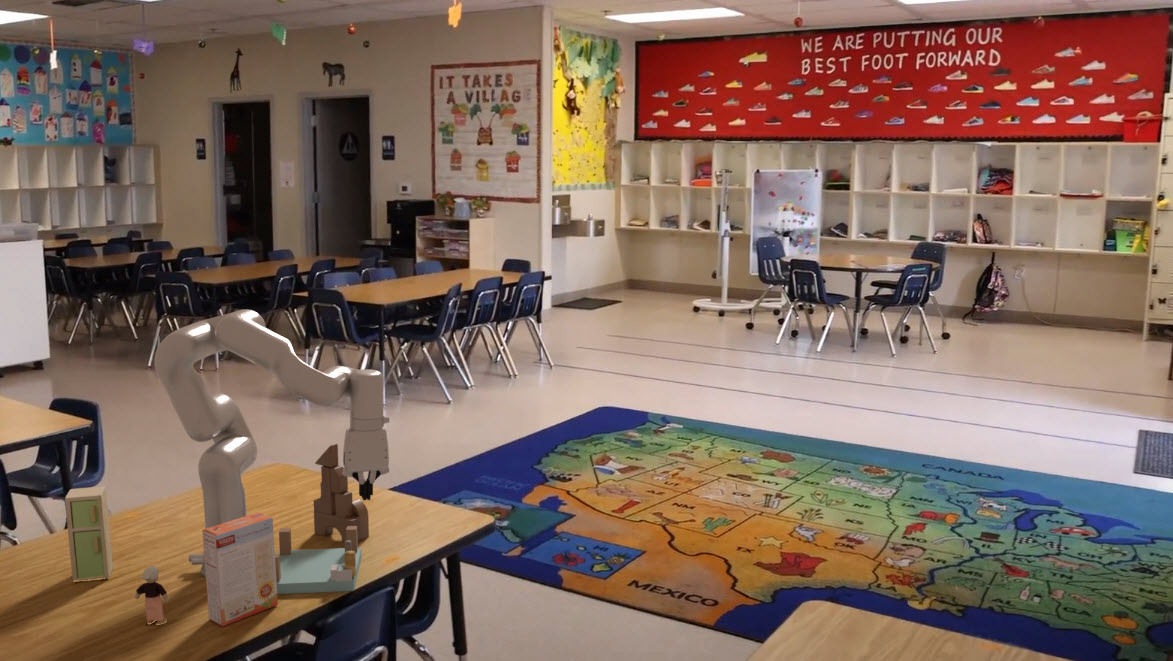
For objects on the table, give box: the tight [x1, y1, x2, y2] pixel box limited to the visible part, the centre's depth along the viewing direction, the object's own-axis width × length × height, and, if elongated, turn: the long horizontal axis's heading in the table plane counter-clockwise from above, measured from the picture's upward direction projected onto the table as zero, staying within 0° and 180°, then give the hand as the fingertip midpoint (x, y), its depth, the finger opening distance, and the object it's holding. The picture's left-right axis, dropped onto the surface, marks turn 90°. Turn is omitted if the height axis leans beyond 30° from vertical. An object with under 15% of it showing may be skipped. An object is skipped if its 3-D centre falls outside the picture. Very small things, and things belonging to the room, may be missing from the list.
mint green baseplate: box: [275, 526, 363, 595], centre depth 252 cm, size 20×20×8 cm
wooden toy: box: [313, 443, 370, 543], centre depth 276 cm, size 16×7×25 cm, turn 58°
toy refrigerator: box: [64, 486, 114, 582], centre depth 248 cm, size 8×7×21 cm
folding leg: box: [344, 540, 356, 577], centre depth 248 cm, size 9×2×6 cm, turn 16°
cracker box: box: [202, 511, 279, 627], centre depth 231 cm, size 14×6×21 cm, turn 140°
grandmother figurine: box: [134, 565, 170, 624], centre depth 226 cm, size 8×4×13 cm, turn 92°
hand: (365, 498), depth 249 cm, fingers closed
